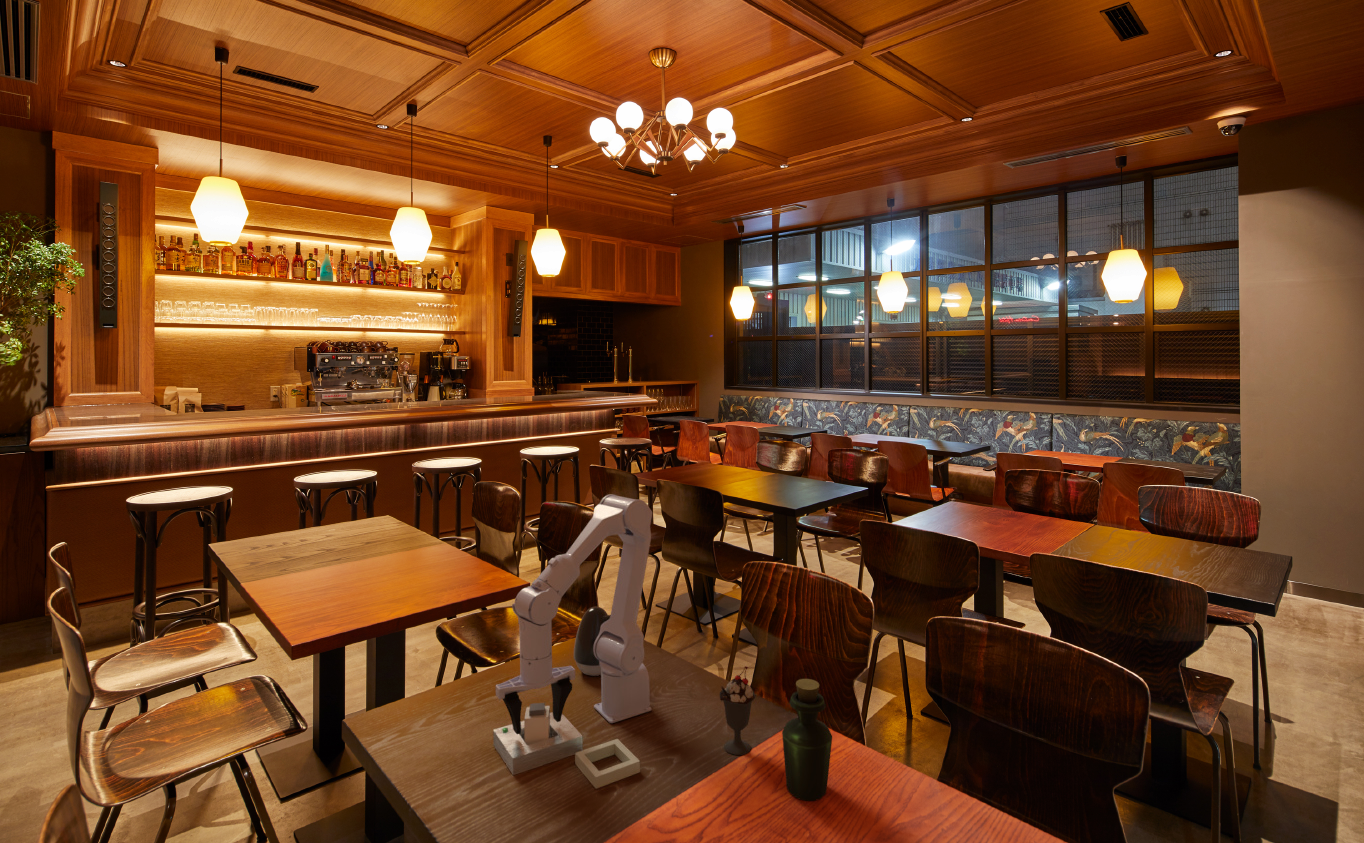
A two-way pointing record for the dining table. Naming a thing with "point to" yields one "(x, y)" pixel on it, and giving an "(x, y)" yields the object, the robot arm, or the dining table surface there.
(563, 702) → the robot arm
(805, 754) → the potion bottle
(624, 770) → the beige square frame
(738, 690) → the sundae
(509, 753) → the port block
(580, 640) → the dark grey rounded figure
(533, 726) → the plug
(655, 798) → the dining table surface
